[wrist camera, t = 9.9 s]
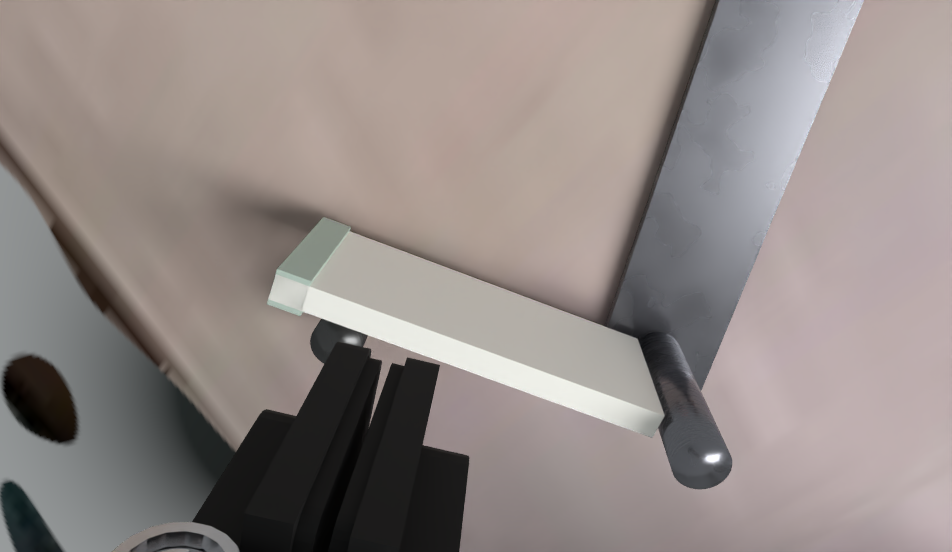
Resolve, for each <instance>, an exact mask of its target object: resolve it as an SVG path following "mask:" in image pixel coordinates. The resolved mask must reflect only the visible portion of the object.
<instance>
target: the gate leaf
mask: <svg viewBox="0 0 952 552" xmlns="http://www.w3.org/2000/svg"><path fill="white" fill-rule="evenodd" d="M350 229H351V227H350V226H347V225H344V224H342V223H339V222H336V221H334V220H331V219H328V218H326V217H323V218H322V219H321V220H320V221H319V223H318V224H317V225H316V226H315V227H314V228H313V229H312V230H311V231H310V233H309V234H308V235H307V236H306V237H305V238H304V239H303V240H302V242H301V243H300V244H299V245H298V246H297V247H296V248H295V249H294V251H293V252H292V253H291V254H290V255H289V256H288V257H287V258H286V259H285V261H284V262H283V263H282V264H281V265H280V266H279V267H278V268H277V271H276V274H275V278H274V281H273V285H272V288H271V292H270V295H269V299H268V302H267V304H268V305H271V306H274V307H276V308H279V309H282V310H285V311H287V312H290V313H293V314H296V315H299V316H301V314H302V313H303V312H305V313H308V314H311V315H314V316H316V317H319V318H322V319H325V320H327V321H330V322H333V323H336V324H338V325H341V326H344V327H347V328H350V329H352V330H355V331H358V332H361V333H363V334H366V335H369V336H372V337H374V338H377V339H380V340H383V341H386V342H388V343H391V344H394V345H397V346H399V347H402V348H405V349H408V350H410V351H413V352H416V353H419V354H421V355H424V356H427V357H430V358H433V359H435V360H438V361H441V362H444V363H446V364H449V365H452V366H455V367H457V368H460V369H463V370H466V371H469V372H471V373H474V374H477V375H480V376H482V377H485V378H488V379H491V380H493V381H496V382H499V383H502V384H505V385H507V386H510V387H513V388H516V389H518V390H521V391H524V392H527V393H529V394H532V395H535V396H538V397H540V398H543V399H546V400H549V401H552V402H554V403H557V404H560V405H563V406H565V407H568V408H571V409H574V410H576V411H579V412H582V413H585V414H588V415H590V416H593V417H596V418H599V419H601V420H604V421H607V422H610V423H612V424H615V425H618V426H621V427H624V428H626V429H629V430H632V431H635V432H637V433H640V434H643V435H646V436H648V437H651V438H652V437H653V436H654V434H655V432H656V430H657V429H658V427H659V425H660V423H661V422H662V420H663V418H664V417H665V415H664V412H663V409H662V407H661V404H660V401H659V398H658V395H657V392H656V390H655V387H654V384H653V381H652V378H651V375H650V372H649V370H648V367H647V364H646V361H645V358H644V355H643V353H642V350H641V347H640V344H639V341H638V339H637V338H634V337H631V336H629V335H626V334H623V333H621V332H618V331H615V330H613V329H610V328H607V327H605V326H602V325H599V324H597V323H594V322H591V321H589V320H586V319H583V318H581V317H578V316H575V315H573V314H570V313H567V312H565V311H562V310H559V309H557V308H554V307H551V306H549V305H546V304H543V303H540V302H538V301H535V300H532V299H530V298H527V297H524V296H522V295H519V294H516V293H514V292H511V291H508V290H506V289H503V288H500V287H498V286H495V285H492V284H490V283H487V282H484V281H482V280H479V279H476V278H474V277H471V276H468V275H466V274H463V273H460V272H458V271H455V270H452V269H449V268H447V267H444V266H441V265H439V264H436V263H433V262H431V261H428V260H425V259H423V258H420V257H417V256H415V255H412V254H409V253H407V252H404V251H401V250H399V249H396V248H393V247H391V246H388V245H385V244H383V243H380V242H377V241H375V240H372V239H369V238H367V237H364V236H361V235H359V234H356V233H353V232H350Z"/></svg>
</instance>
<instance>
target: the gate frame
mask: <svg viewBox="0 0 952 552" xmlns="http://www.w3.org/2000/svg"><path fill="white" fill-rule="evenodd" d="M863 1H864V0H716V2H715V5H714V8H713V11H712V14H711V17H710V20H709V23H708V26H707V29H706V32H705V35H704V38H703V41H702V43H701V46H700V49H699V52H698V55H697V58H696V61H695V64H694V67H693V70H692V73H691V76H690V79H689V82H688V85H687V88H686V90H685V93H684V96H683V99H682V102H681V105H680V108H679V111H678V114H677V117H676V120H675V123H674V126H673V129H672V132H671V134H670V137H669V140H668V143H667V146H666V149H665V152H664V155H663V158H662V161H661V164H660V167H659V170H658V173H657V176H656V178H655V181H654V184H653V187H652V190H651V193H650V196H649V199H648V202H647V205H646V208H645V211H644V214H643V217H642V220H641V222H640V225H639V228H638V231H637V234H636V237H635V240H634V243H633V246H632V249H631V252H630V255H629V258H628V261H627V264H626V266H625V269H624V272H623V275H622V278H621V281H620V284H619V287H618V290H617V293H616V296H615V299H614V302H613V305H612V308H611V310H610V313H609V316H608V319H607V322H606V325H605V327H607V328H610V329H613V330H615V331H618V332H621V333H623V334H626V335H629V336H631V337H634V338H637V339H638V341H639V344H640V347H641V350H642V353H643V355H644V358H645V361H646V364H647V367H648V370H649V372H650V375H651V378H652V381H653V384H654V387H655V390H656V392H657V395H658V398H659V401H660V404H661V407H662V409H663V412H664V415H665V417H664V418H663V420H662V422H661V423H660V425H659V427H658V429H659V432H660V435H661V438H662V441H663V444H664V447H665V451H666V454H667V457H668V460H669V463H670V466H671V469H672V472H673V475H674V477H675V478H676V479H677V481H678V482H680V483H681V484H682V485H684V486H686V487H689V488H693V489H707V488H711V487H714V486H716V485H718V484H719V483H721V482H722V481H724V480H725V479H726V477H727V476H728V475H729V473H730V471H731V468H732V458H731V455H730V453H729V451H728V449H727V447H726V444H725V442H724V440H723V438H722V436H721V434H720V431H719V429H718V427H717V425H716V423H715V421H714V419H713V416H712V414H711V412H710V410H709V408H708V406H707V404H706V401H705V399H704V397H703V395H702V393H701V390H702V387H703V385H704V382H705V380H706V378H707V375H708V373H709V370H710V368H711V366H712V363H713V361H714V358H715V356H716V354H717V351H718V349H719V346H720V344H721V342H722V339H723V337H724V334H725V332H726V330H727V327H728V325H729V322H730V320H731V318H732V315H733V313H734V311H735V308H736V306H737V303H738V301H739V299H740V296H741V294H742V291H743V289H744V287H745V284H746V282H747V279H748V277H749V275H750V272H751V270H752V267H753V265H754V263H755V260H756V258H757V255H758V253H759V251H760V248H761V246H762V243H763V241H764V239H765V236H766V234H767V231H768V229H769V227H770V224H771V222H772V219H773V217H774V215H775V212H776V210H777V207H778V205H779V203H780V200H781V198H782V195H783V193H784V191H785V188H786V186H787V183H788V181H789V179H790V176H791V174H792V171H793V169H794V167H795V164H796V162H797V159H798V157H799V155H800V152H801V150H802V147H803V145H804V143H805V140H806V138H807V136H808V133H809V131H810V128H811V126H812V124H813V121H814V119H815V116H816V114H817V112H818V109H819V107H820V104H821V102H822V100H823V97H824V95H825V92H826V90H827V88H828V85H829V83H830V80H831V78H832V76H833V73H834V71H835V68H836V66H837V64H838V61H839V59H840V56H841V54H842V52H843V49H844V47H845V44H846V42H847V40H848V37H849V35H850V32H851V30H852V28H853V25H854V23H855V20H856V18H857V16H858V13H859V11H860V8H861V6H862V4H863ZM367 336H368V335H366V334H363V333H361V332H358V331H355V330H352V329H350V328H347V327H344V326H341V325H338V324H336V323H333V322H330V321H327V320H325V319H322V318H321V320H320V322H319V323H318V325H317V326H316V328H315V330H314V331H313V333H312V335H311V340H310V344H311V349H312V351H313V353H314V355H315V356H316V357H317V358H318V359H319V360H320V361H321V362H322V363H324V364H325V362H326V361H327V359H328V357H329V355H330V353H331V351H332V349H333V348H334V346H335V344H336V342H338V341H339V342H343V343H347V344H352V345H356V346H360V347H363V345H364V343H365V341H366V339H367Z"/></svg>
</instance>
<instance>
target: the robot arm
mask: <svg viewBox="0 0 952 552" xmlns="http://www.w3.org/2000/svg"><path fill="white" fill-rule="evenodd" d="M370 357H371V349H369V348H364V347H360V346H356V345H352V344H347V343H343V342H339V341H338V342H336V344H335V346H334V348H333V349H332V351H331V353H330V355H329V357H328V359H327V361H326V362H325V364H324V366H323V368H322V370H321V372H320V374H319V375H318V377H317V379H316V381H315V383H314V385H313V387H312V388H311V390H310V392H309V394H308V396H307V398H306V400H305V401H304V403H303V405H302V407H301V409H300V411H299V413H298V414H297V416H293V415H289V414H284V413H280V412H276V411H271V410H267V409H266V410H264V411H262V413H261V414H260V415H259V417H258V418H257V420H256V421H255V423H254V424H253V426H252V428H251V429H250V431H249V432H248V434H247V436H246V437H245V439H244V440H243V442H242V444H241V445H240V447H239V448H238V450H237V451H236V453H235V455H234V456H233V458H232V460H231V461H230V463H229V464H228V466H227V467H226V469H225V471H224V472H223V474H222V475H221V477H220V479H219V480H218V482H217V483H216V485H215V487H214V488H213V490H212V491H211V493H210V495H209V496H208V498H207V499H206V501H205V502H204V504H203V505H202V507H201V509H200V510H199V512H198V513H197V515H196V517H195V518H194V520H193V521H192V522H171V523H166V524H162V525H157V526H153V527H149V528H147V529H145V530H143V531H141V532H139V533H136V534H134V535H132V536H130V537H129V538H128V539H127V540H126V541H124V542H123V543H122V544H120V545H119V546H118V547H116V548H115V549H114V550H113V551H112V552H459V548H460V539H461V530H462V521H463V512H464V503H465V494H466V485H467V476H468V467H469V456H467V455H463V454H458V453H454V452H450V451H445V450H441V449H437V448H432V447H428V446H424V445H422V444H423V440H424V435H425V431H426V426H427V422H428V417H429V413H430V408H431V403H432V399H433V394H434V390H435V385H436V381H437V376H438V372H439V367H440V365H437V364H433V363H429V362H424V361H420V360H416V359H412V358H407V360H406V363H405V366H402V365H398V364H393V363H392V364H391V367H390V370H389V373H388V376H387V378H386V381H385V384H384V387H383V390H382V393H381V395H380V398H379V401H378V404H377V407H376V409H375V412H374V415H373V418H372V421H371V424H370V419H371V414H372V409H373V404H374V399H375V394H376V389H377V385H378V380H379V375H380V370H381V364H382V361H381V360H376V359H372V358H370ZM369 424H370V426H369ZM368 428H369V429H368Z"/></svg>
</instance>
